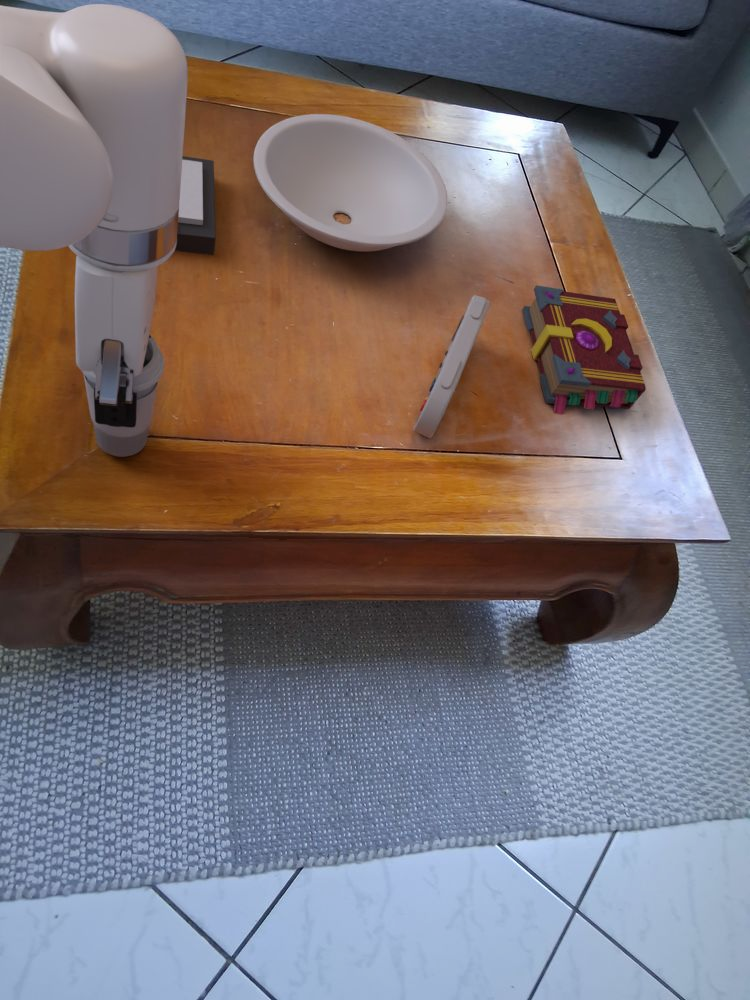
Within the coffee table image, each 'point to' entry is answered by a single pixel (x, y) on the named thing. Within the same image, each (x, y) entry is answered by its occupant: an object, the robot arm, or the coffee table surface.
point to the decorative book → (582, 350)
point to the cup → (145, 386)
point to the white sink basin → (350, 181)
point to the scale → (196, 207)
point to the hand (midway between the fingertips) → (121, 387)
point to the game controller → (451, 367)
